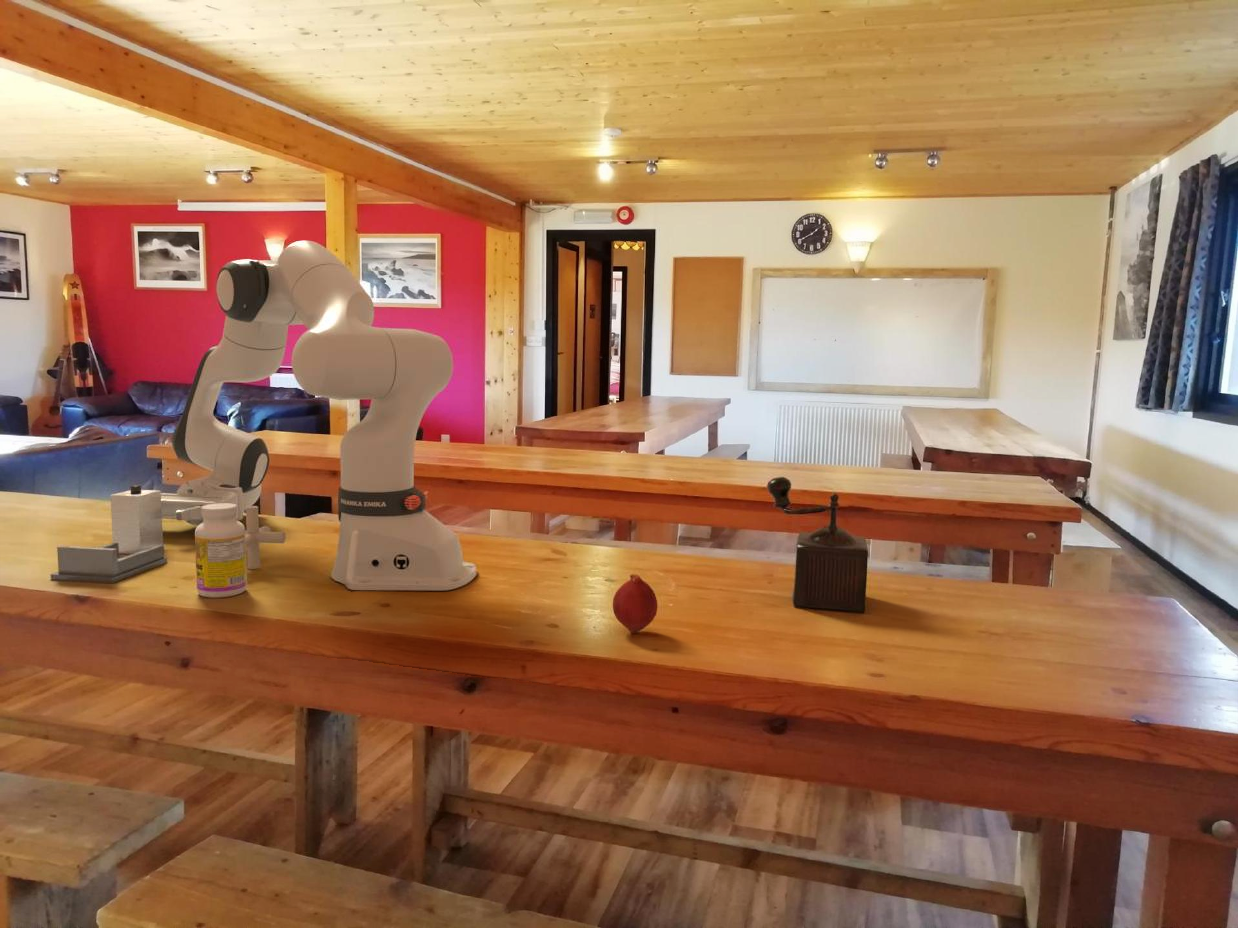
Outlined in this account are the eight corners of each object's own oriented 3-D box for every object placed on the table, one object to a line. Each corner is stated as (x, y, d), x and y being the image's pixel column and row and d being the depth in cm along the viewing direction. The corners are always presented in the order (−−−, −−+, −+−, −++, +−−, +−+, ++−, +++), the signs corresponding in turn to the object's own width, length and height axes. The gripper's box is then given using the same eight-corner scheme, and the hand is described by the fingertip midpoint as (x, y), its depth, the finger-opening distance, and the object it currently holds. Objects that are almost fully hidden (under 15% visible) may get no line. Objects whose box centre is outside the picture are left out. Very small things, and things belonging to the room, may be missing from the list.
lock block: (163, 546, 153) (160, 483, 151) (140, 554, 147) (137, 489, 145) (136, 545, 153) (133, 482, 152) (113, 552, 147) (110, 488, 146)
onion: (631, 622, 118) (632, 565, 117) (665, 632, 114) (667, 573, 113) (603, 632, 113) (604, 573, 112) (637, 643, 110) (640, 581, 109)
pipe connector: (271, 576, 135) (269, 513, 134) (208, 574, 135) (205, 511, 134) (296, 561, 145) (295, 502, 144) (237, 559, 145) (235, 500, 144)
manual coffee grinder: (862, 594, 135) (870, 480, 133) (866, 614, 125) (874, 491, 122) (762, 585, 139) (767, 474, 136) (757, 604, 128) (763, 484, 126)
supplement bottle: (200, 587, 128) (197, 502, 127) (249, 585, 130) (246, 501, 129) (193, 600, 122) (190, 510, 120) (244, 597, 124) (241, 509, 122)
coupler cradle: (167, 562, 142) (166, 533, 141) (112, 583, 129) (110, 551, 129) (110, 558, 143) (109, 530, 142) (50, 579, 130) (49, 548, 130)
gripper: (150, 483, 168) (99, 494, 154) (249, 487, 166) (207, 499, 152) (151, 515, 169) (101, 529, 155) (250, 519, 167) (208, 534, 153)
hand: (154, 514), depth 154 cm, fingers open, 8 cm apart
